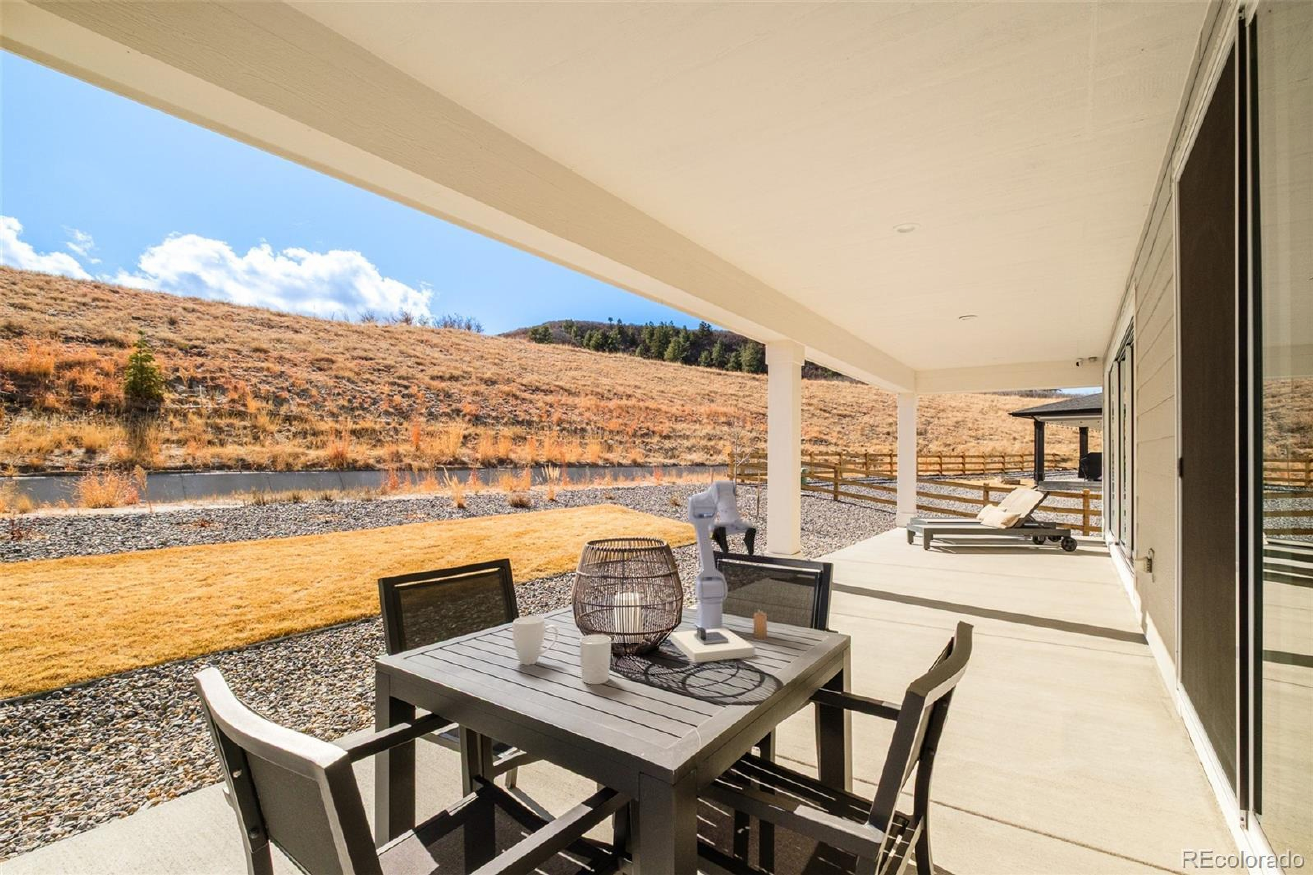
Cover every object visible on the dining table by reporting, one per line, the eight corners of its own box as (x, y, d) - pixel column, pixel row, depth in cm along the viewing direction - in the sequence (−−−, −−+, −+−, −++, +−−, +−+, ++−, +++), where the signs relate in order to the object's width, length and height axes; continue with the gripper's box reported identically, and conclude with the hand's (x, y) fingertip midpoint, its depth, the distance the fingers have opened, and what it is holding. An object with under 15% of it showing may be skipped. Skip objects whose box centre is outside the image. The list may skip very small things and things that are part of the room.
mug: (509, 668, 156) (509, 624, 156) (516, 657, 164) (517, 615, 165) (555, 667, 156) (555, 624, 156) (560, 657, 164) (560, 615, 165)
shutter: (694, 636, 175) (694, 625, 175) (717, 634, 177) (717, 623, 177) (703, 644, 168) (703, 632, 168) (728, 641, 170) (728, 630, 170)
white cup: (617, 677, 149) (617, 637, 150) (598, 687, 142) (599, 645, 143) (592, 671, 153) (592, 632, 154) (572, 681, 146) (573, 640, 147)
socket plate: (670, 641, 179) (670, 632, 179) (725, 635, 184) (725, 627, 185) (694, 662, 160) (694, 653, 160) (754, 656, 165) (754, 647, 165)
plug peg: (751, 635, 185) (751, 609, 185) (763, 634, 186) (762, 608, 186) (757, 639, 181) (757, 612, 181) (769, 638, 182) (769, 611, 183)
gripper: (710, 504, 170) (720, 544, 161) (756, 507, 174) (768, 546, 165) (703, 519, 175) (711, 558, 166) (748, 521, 179) (758, 560, 169)
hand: (739, 553), depth 165 cm, fingers open, 7 cm apart
